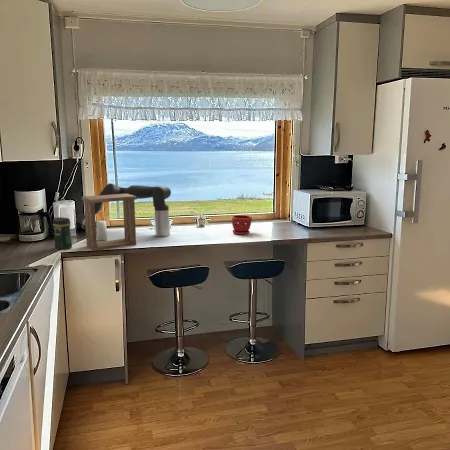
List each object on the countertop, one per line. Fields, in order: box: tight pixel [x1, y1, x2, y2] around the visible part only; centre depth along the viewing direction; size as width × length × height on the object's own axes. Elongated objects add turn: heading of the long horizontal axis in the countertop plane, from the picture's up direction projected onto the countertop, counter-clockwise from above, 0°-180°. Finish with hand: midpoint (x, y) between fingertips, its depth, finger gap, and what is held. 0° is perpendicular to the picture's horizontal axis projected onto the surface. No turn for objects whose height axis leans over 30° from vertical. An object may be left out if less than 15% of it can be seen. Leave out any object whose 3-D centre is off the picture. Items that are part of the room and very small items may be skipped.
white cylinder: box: [96, 220, 108, 242], centre depth 277 cm, size 6×6×12 cm
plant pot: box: [231, 214, 252, 236], centre depth 295 cm, size 13×13×12 cm
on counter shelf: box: [81, 194, 137, 252], centre depth 260 cm, size 16×28×30 cm, turn 124°
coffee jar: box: [52, 216, 73, 250], centre depth 255 cm, size 10×8×19 cm
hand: (96, 227), depth 285 cm, fingers open, 8 cm apart
